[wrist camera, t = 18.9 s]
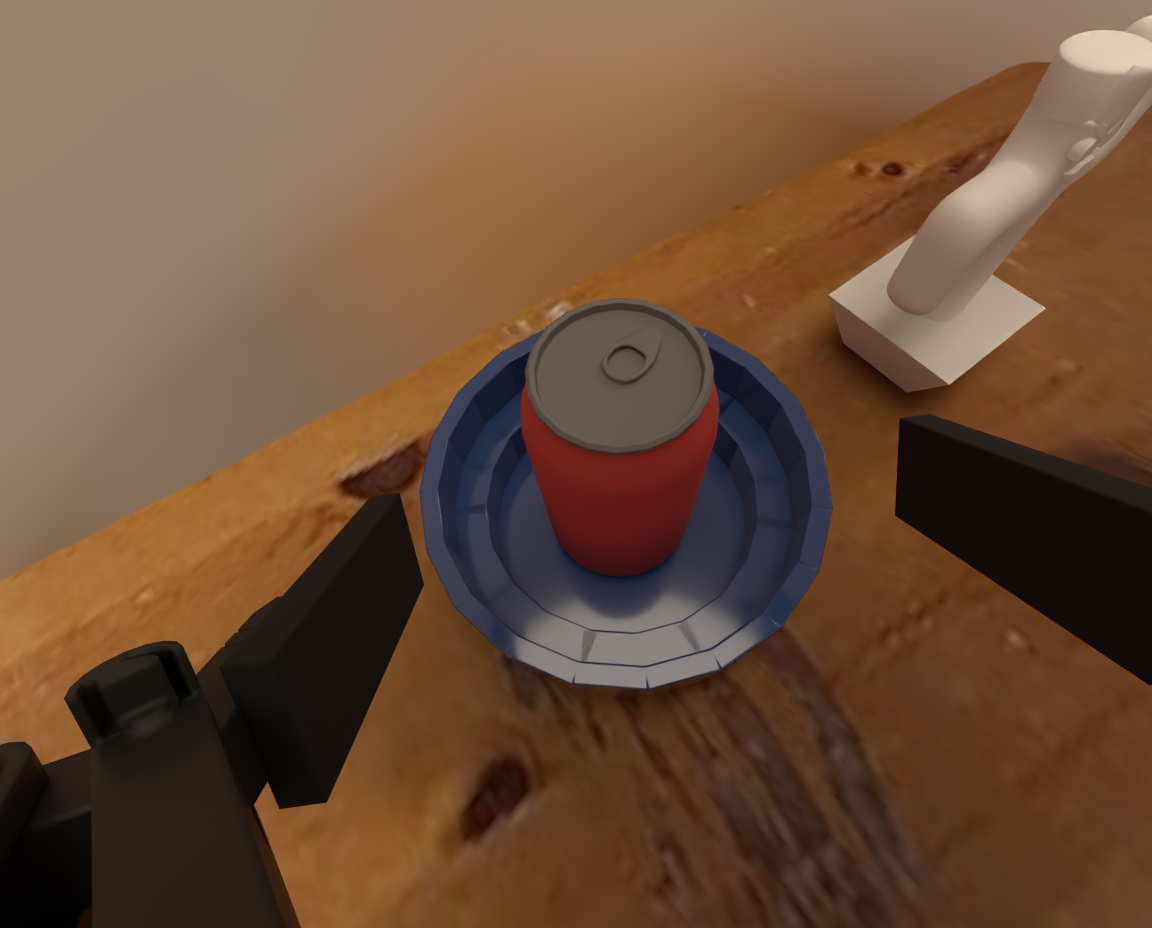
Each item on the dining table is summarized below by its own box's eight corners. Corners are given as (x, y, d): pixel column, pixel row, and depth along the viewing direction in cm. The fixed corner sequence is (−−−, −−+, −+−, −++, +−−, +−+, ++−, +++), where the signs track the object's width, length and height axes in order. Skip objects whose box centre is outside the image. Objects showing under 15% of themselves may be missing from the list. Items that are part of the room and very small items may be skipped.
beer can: (712, 502, 26) (776, 345, 16) (633, 609, 24) (645, 513, 14) (605, 433, 29) (597, 254, 18) (525, 526, 27) (461, 388, 16)
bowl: (854, 494, 27) (907, 440, 22) (653, 788, 22) (663, 805, 17) (596, 336, 32) (592, 265, 27) (390, 541, 27) (340, 500, 22)
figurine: (792, 350, 31) (926, 57, 17) (903, 272, 33) (1099, -45, 19) (897, 436, 28) (1152, 164, 15) (1011, 344, 30) (1328, 31, 17)
